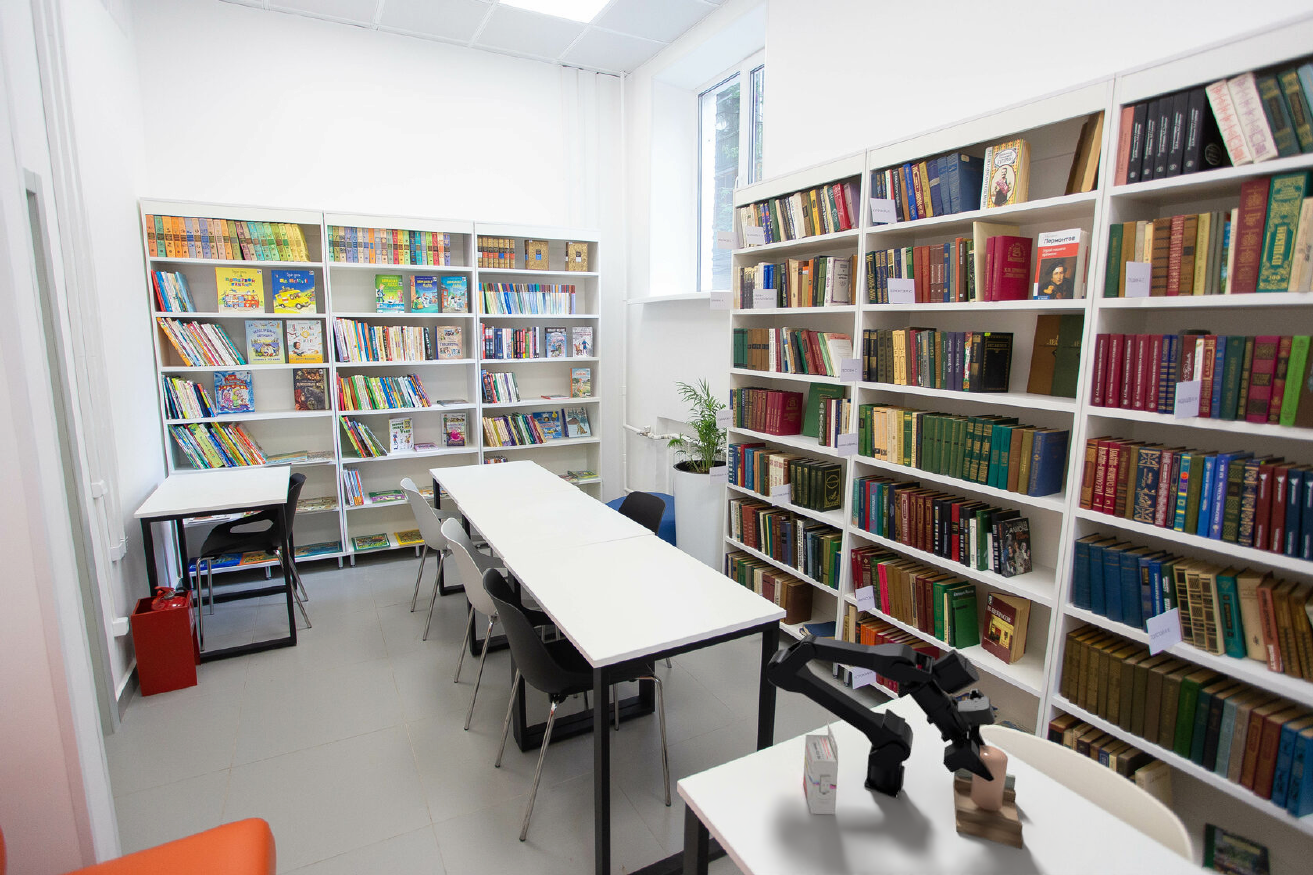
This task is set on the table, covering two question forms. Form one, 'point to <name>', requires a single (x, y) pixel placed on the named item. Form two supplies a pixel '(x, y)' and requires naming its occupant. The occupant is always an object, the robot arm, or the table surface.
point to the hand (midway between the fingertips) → (991, 770)
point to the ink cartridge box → (821, 772)
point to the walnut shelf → (986, 812)
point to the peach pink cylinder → (990, 792)
